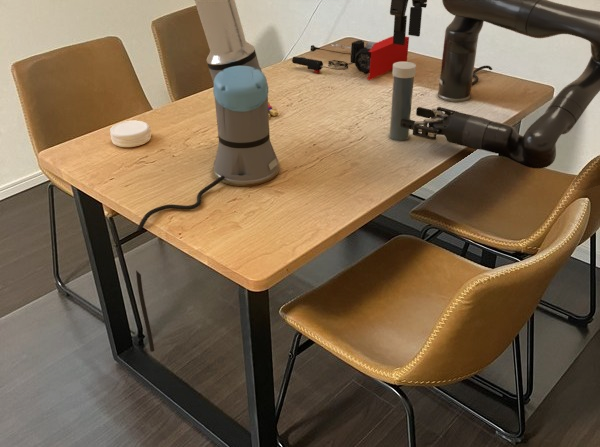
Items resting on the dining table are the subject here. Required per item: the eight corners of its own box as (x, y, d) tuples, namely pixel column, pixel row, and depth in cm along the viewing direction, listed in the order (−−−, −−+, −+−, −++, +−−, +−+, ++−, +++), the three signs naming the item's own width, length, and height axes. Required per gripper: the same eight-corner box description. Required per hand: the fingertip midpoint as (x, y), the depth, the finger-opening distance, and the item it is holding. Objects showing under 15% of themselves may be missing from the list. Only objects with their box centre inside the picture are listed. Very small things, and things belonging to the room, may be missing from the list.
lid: (400, 79, 149) (400, 70, 148) (388, 72, 153) (388, 63, 152) (419, 76, 151) (420, 66, 150) (407, 69, 155) (408, 60, 154)
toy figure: (281, 107, 173) (253, 94, 180) (262, 114, 169) (235, 100, 176) (281, 115, 175) (253, 102, 182) (262, 122, 171) (235, 108, 178)
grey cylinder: (395, 142, 158) (401, 71, 148) (385, 134, 162) (390, 65, 152) (412, 138, 160) (418, 68, 150) (401, 131, 164) (407, 62, 154)
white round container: (123, 151, 155) (121, 138, 153) (105, 139, 162) (102, 126, 160) (158, 140, 161) (156, 127, 159) (139, 128, 167) (137, 116, 165)
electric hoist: (290, 37, 203) (370, 51, 188) (334, 23, 222) (410, 35, 207) (290, 67, 208) (368, 84, 193) (333, 51, 227) (407, 65, 212)
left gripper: (418, -72, 144) (410, 27, 157) (377, -61, 130) (372, 48, 142) (449, -70, 141) (438, 31, 153) (410, -58, 126) (401, 53, 139)
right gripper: (455, 156, 145) (394, 140, 154) (479, 135, 155) (420, 120, 163) (459, 126, 141) (396, 111, 149) (483, 106, 151) (423, 93, 159)
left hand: (406, 39), depth 148 cm, fingers open, 8 cm apart
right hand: (409, 116), depth 156 cm, fingers open, 8 cm apart
